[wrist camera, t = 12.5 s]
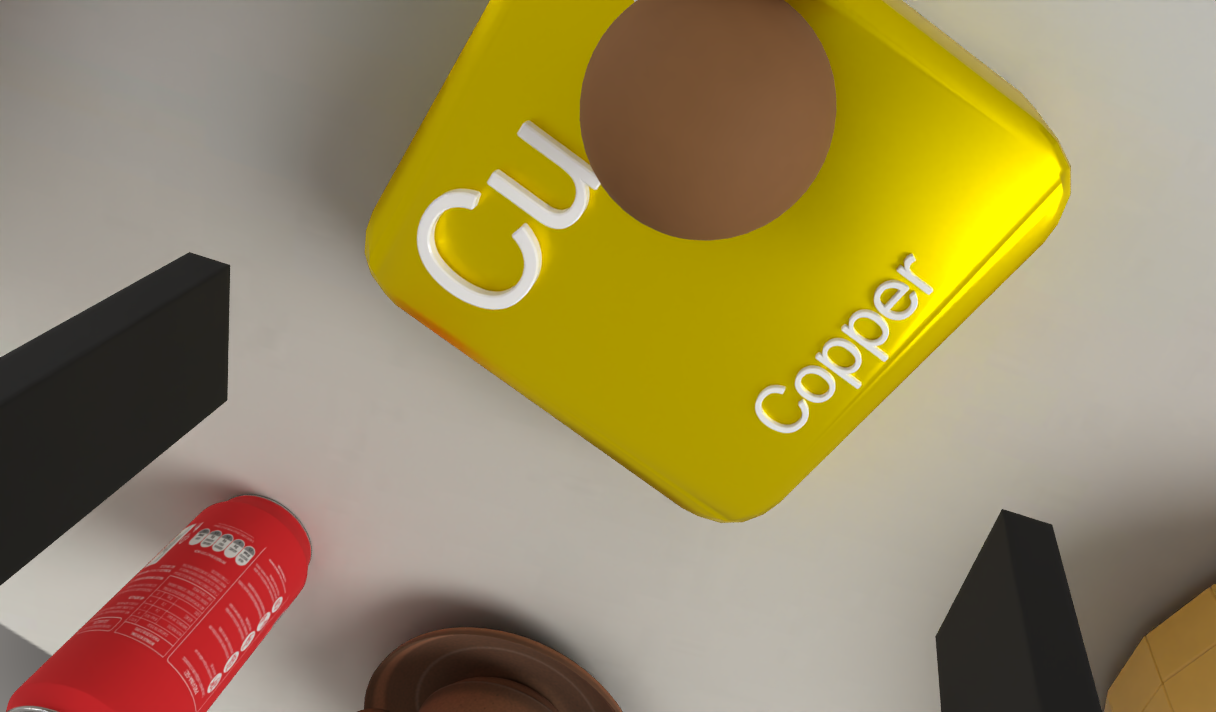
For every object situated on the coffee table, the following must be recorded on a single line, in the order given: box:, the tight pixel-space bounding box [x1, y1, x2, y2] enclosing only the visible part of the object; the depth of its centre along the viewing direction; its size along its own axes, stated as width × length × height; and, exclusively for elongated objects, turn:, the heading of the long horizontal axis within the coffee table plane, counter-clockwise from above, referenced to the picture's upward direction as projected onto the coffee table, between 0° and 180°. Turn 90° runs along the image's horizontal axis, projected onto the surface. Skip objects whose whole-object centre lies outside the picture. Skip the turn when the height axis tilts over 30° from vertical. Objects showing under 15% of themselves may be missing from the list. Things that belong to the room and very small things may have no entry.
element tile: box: [365, 0, 1071, 523], centre depth 28 cm, size 15×15×5 cm
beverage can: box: [6, 495, 312, 712], centre depth 36 cm, size 5×5×12 cm
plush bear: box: [580, 0, 836, 241], centre depth 21 cm, size 6×6×10 cm
